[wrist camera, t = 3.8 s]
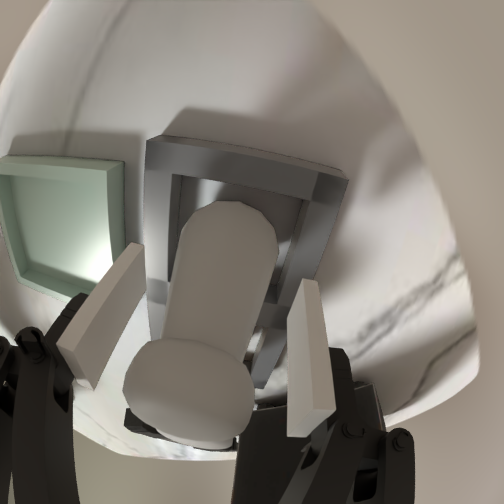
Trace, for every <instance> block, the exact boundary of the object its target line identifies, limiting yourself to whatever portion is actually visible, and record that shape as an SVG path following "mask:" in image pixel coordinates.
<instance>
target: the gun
mask: <svg viewBox="0 0 504 504" xmlns="http://www.w3.org/2000/svg"><path fill="white" fill-rule="evenodd" d="M124 426H125V427H126V428H127V429H128V430H131V432H134V433H138V434H143V435H146V436H149V437H153V438H159V439H163V440H167V441H171V442H175V443H178V442H176V441H173V440H171V439H169V438H167V437H165V436H163V435H162V434H160V433H159V432H158V431H157V430H156V428H154V427H152V426H150V425H148V424H146V423H145V422H143V421H142V420H141V419H139V418H138V417H137V416H136V415H135V414H133V413H132V411H131V409H130V408H126V414H125V420H124ZM179 444H181V443H179ZM183 445H184V444H183ZM187 446H188V445H187ZM193 448H196V449H201V450H206V451H219V452H229V451H230V452H235V451H237V450H238V443H237V442H236V437H234V438H233V443H232V446H231V447H229V448H225V449H203V448H197V447H193Z"/></svg>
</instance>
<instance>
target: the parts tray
mask: <svg viewBox="0 0 504 504" xmlns="http://www.w3.org/2000/svg"><path fill="white" fill-rule="evenodd" d="M0 224H1V228H2V232H3V236H4V239H5V243H6V247H7V250H8V253H9V257H10V260H11V263H12V266H13V269H14V272H15V275H16V278H17V280H18V282H19V283H21V284H23V285H25V286H28V287H30V288H32V289H34V290H37V291H39V292H41V293H43V294H46V295H48V296H51V297H53V298H55V299H58V300H60V301H63V302H65V303H69V301H70V300H71V299H72V298H73V297H75V296H76V295H78V294H79V293H81V292H82V293H85V294H88V295H90V293H91V292H92V291H93V289H94V288H95V287H96V285H97V284H98V283H99V281H100V280H101V279H102V277H103V276H104V275H105V274H106V272H107V271H108V270H109V269H110V267H111V266H112V265H113V263H114V262H115V261H116V260H117V259H118V257H119V256H120V255H121V254H122V252H123V251H124V250H125V249H126V242H125V224H124V161H115V160H104V159H93V158H79V157H63V156H40V155H6V156H4V157H2V158H0Z"/></svg>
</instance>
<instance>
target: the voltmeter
mask: <svg viewBox="0 0 504 504" xmlns="http://www.w3.org/2000/svg"><path fill="white" fill-rule="evenodd" d="M353 384H354V390H355V397H356V403H357V410H358V414H359V416H360V417H361V418H362V419H363V420H364V421H365V422H366V424H367V425H368V426H369V427H372V428H375V429H378V430H382V431H386V427H385V422H384V418H383V414H382V411H381V407H380V403H379V400H378V396H377V393H376V390H375V386H374V383H371V384H368V385H365V384H364V382H356V383H353ZM310 442H311V433H310V434H309V435H308V436H307V437H288V436H287V405H285V406H279V407H273V405H269V404H260V405H259V406H258V407H257V410H254V411H252V414H251V418H250V421H249V423H248V425H247V427H246V428H245V430H244V431H243V432H242V433H240V434H239V442H238V450H237V458H236V466H235V475H234V483H233V490H232V498H231V504H278V503H279V502H280V500H281V498H282V496H283V494H284V493H285V491H286V489H287V487H288V485H289V483H290V481H291V479H292V477H293V475H294V473H295V471H296V469H297V467H298V465H299V463H300V461H301V459H302V457H303V455H304V453H305V451H304V452H301V450H302V449H303V447H304V446H306V445H307V444H308V443H310ZM345 504H346V503H345Z"/></svg>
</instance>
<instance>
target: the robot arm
mask: <svg viewBox="0 0 504 504" xmlns="http://www.w3.org/2000/svg"><path fill="white" fill-rule="evenodd" d="M146 289H147V284H146V268H145V245H141V244H136V243H132V242H131V243H130V244H129V245H128V246H127V248H126V249H125V250H124V251H123V252H122V254H121V255H120V256H119V257H118V259H117V260H116V261H115V262H114V263H113V265H112V266H111V267H110V269H109V270H108V271H107V272H106V274H105V275H104V276H103V277H102V279H101V280H100V281H99V283H98V284H97V285H96V287H95V288H94V289H93V291H92V292H91V293H90V295H88V294H85V293H82V292H81V293H79V294H78V295H76V296H75V297H73V298H72V299H71V300H70V301H69V303H68V304H67V305H66V307H65V309H63V311H62V312H61V314H60V315H59V316H58V318H57V319H56V320H55V322H54V323H53V325H52V326H51V328H50V329H49V331H48V332H47V333H46V335H45V336H43V334H42V332H41V331H40V330H39V329H38V328H35V327H26V328H24V329H22V330H21V331H20V332H19V333H18V334H17V335H16V337H15V339H14V340H15V342H16V343H17V345H18V346H12V345H10V343H9V341H8V340H7V339H6V338H5V337H3V336H0V504H8V494H9V485H10V479H11V472H12V477H13V489H14V497H15V504H80V501H79V495H78V489H77V481H76V473H75V462H74V448H73V386H72V384H71V383H72V381H73V379H74V377H75V379H76V381H77V382H78V384H80V385H82V386H84V387H86V388H88V389H91V390H93V391H94V390H95V388H96V386H97V383H98V381H99V379H100V377H101V375H102V373H103V371H104V369H105V366H106V364H107V362H108V360H109V358H110V356H111V354H112V352H113V350H114V348H115V346H116V344H117V342H118V340H119V338H120V337H121V335H122V333H123V331H124V329H125V327H126V325H127V323H128V321H129V319H130V318H131V316H132V314H133V312H134V310H135V308H136V307H137V305H138V303H139V301H140V299H141V298H142V296H143V294H144V292H145V291H146ZM287 364H288V393H287V436H288V437H307V436H308V435H309V434H310V433H311V442H310V443H308V444H307V445H306V446H304V447H303V449H302V450H301V452H304V451H305V453H304V455H303V457H302V459H301V461H300V463H299V465H298V467H297V469H296V471H295V473H294V475H293V477H292V479H291V481H290V483H289V485H288V487H287V489H286V491H285V493H284V494H283V496H282V498H281V500H280V502H279V503H278V504H345V503H346V504H414V499H415V453H414V440H413V437H412V435H411V434H410V432H409V431H407V430H406V429H403V428H395V429H393V430H392V431H390V432H386V431H382V430H378V429H375V428H372V427H369V426H368V425H367V424H366V422H365V421H364V420H363V419H362V418H361V417H360V416H359V414H358V410H357V403H356V397H355V390H354V384H353V381H352V373H351V367H350V362H349V358H348V356H347V355H346V353H345V352H344V350H343V349H341V348H331V347H328V340H327V333H326V327H325V321H324V314H323V308H322V303H321V297H320V291H319V286H318V281H314V280H309V279H304V278H302V281H301V284H300V286H299V289H298V291H297V294H296V297H295V299H294V302H293V304H292V307H291V309H290V312H289V314H288V317H287ZM4 381H6V382H5V384H4ZM3 384H4V385H3Z"/></svg>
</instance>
